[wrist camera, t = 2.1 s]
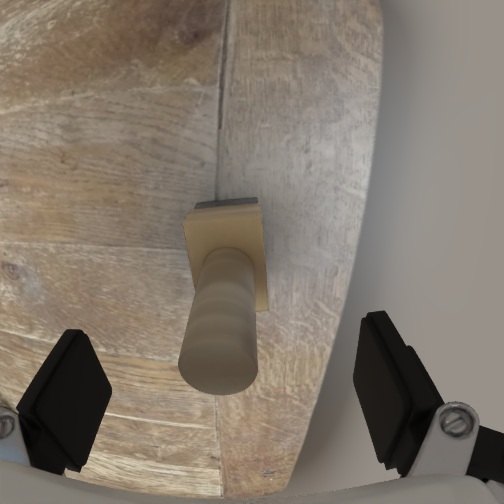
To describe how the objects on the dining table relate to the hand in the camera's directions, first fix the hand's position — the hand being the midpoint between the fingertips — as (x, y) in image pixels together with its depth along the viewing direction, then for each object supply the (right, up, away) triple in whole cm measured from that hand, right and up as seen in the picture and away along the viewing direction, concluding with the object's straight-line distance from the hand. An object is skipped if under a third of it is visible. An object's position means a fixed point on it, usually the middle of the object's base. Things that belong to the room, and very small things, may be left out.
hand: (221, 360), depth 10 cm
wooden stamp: (0, +4, +8) cm, 9 cm away
